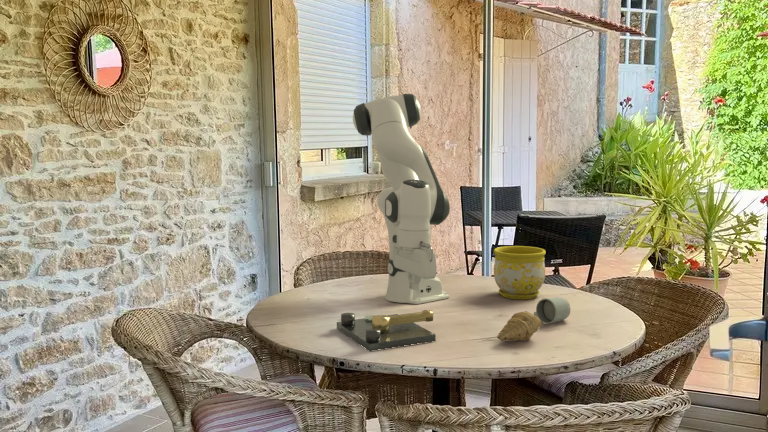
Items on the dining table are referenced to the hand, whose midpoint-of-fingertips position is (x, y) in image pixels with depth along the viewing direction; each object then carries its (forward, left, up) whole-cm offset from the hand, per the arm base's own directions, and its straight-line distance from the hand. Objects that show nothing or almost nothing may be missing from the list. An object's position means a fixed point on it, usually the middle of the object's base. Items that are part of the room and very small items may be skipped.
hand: (413, 289), depth 187 cm
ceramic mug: (-47, 0, -15) cm, 49 cm away
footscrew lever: (0, -7, -12) cm, 14 cm away
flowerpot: (-58, -31, -15) cm, 67 cm away
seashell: (-25, +13, -15) cm, 32 cm away
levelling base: (+5, -9, -15) cm, 18 cm away
